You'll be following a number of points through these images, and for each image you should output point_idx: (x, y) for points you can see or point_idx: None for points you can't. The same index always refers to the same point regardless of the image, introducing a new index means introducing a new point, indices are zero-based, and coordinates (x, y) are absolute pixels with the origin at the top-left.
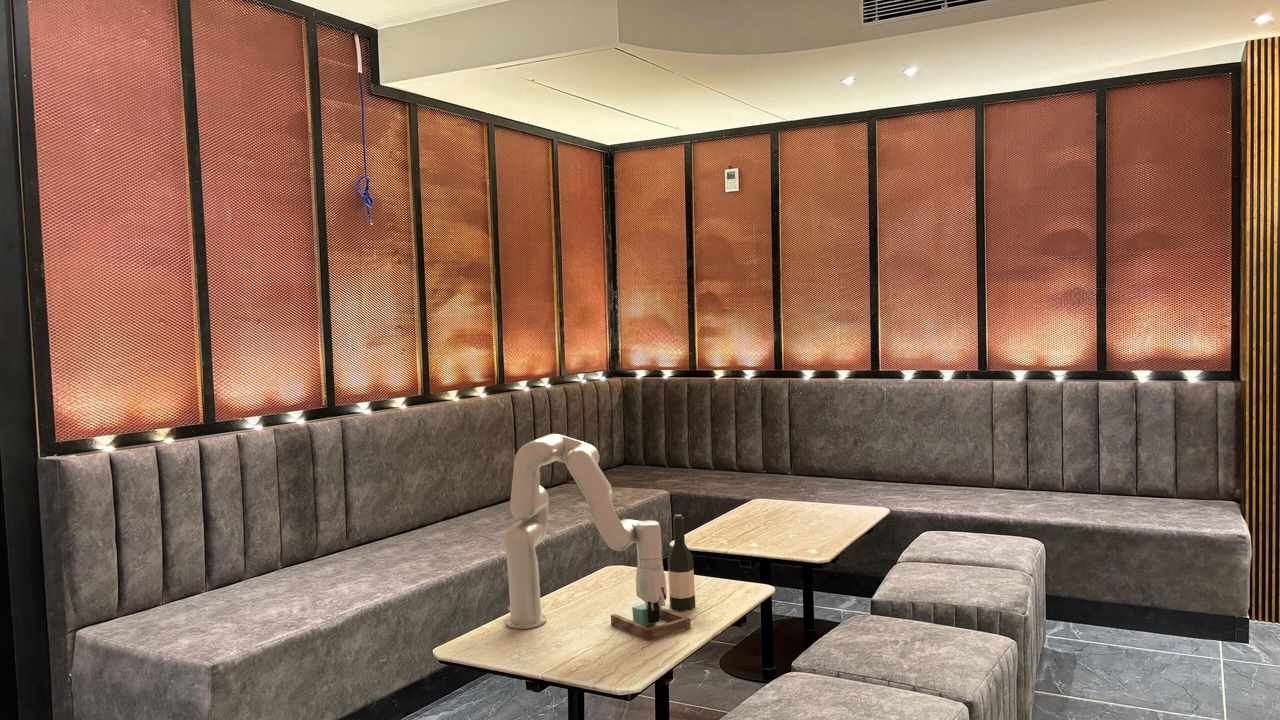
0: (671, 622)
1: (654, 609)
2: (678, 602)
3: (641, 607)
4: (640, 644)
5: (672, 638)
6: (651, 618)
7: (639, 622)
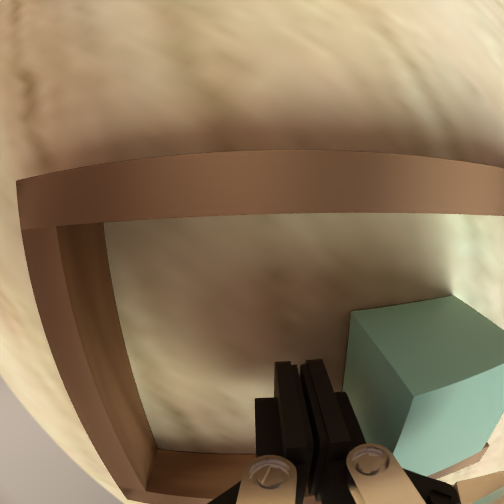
0: (102, 425)
1: (246, 479)
2: None
3: (463, 413)
4: (68, 89)
5: None
6: (278, 390)
7: (405, 314)
